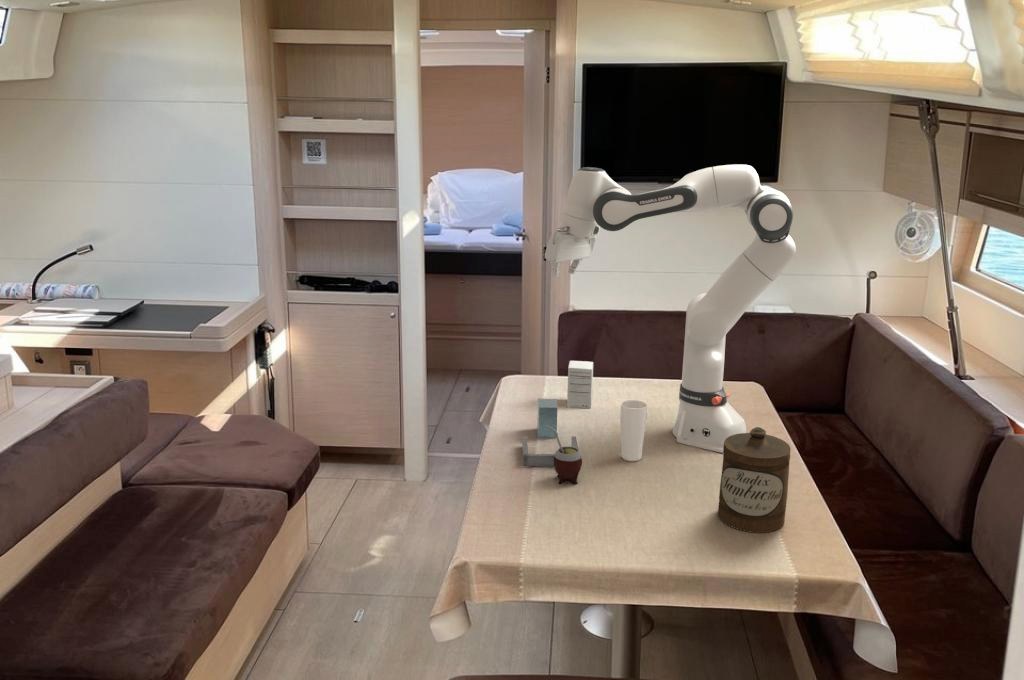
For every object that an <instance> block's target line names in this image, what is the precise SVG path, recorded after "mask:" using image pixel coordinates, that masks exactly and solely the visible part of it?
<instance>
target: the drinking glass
mask: <svg viewBox="0 0 1024 680" xmlns="http://www.w3.org/2000/svg"><path fill="white" fill-rule="evenodd" d="M619 416H620V418H619V419H620V443H621V445H620V447H621V448H620V449H621V450H620V451H621V452H620V455H621V458H622V459H623V460H624V461H627V462H638V461H640V460H641V458H642V456H643V446H644V438H645V434H646V426H647V418H648V417H647V416H648V404H647V403H646V402H644V401H641V400H636V399H635V400H633V399H629V400H624V401H622V402H621V404H620V415H619Z"/></svg>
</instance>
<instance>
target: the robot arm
mask: <svg viewBox="0 0 1024 680" xmlns="http://www.w3.org/2000/svg"><path fill="white" fill-rule="evenodd" d="M726 208H740V209H743V210H744V212H745V214H746V217H747V220H748V222H749V224H750V225H751V226H752V228H753V230H754V231H755V233H756V235H755V237H754V239H753V241H752V242H751V244H749V246H747V248H746V249H744V250H743V251H742V252H741V253H740V254H739V255H738V256H737V257H736V259H735V260H734V261H733V262H732V263H730V264H729V266H728V267H727V268H726V269H725V270H724V271H723V272H722V273H721V274H720V276H719V277H718V278H717V280H716V281H715V282H714V283H713V285H712V286H711V287H710V288H709V290H708V291H707V292H703V293H699V294H698V295H696V296H694V297H693V298H692V299H691V300H690V302H688V305H687V307H686V313H685V314H686V316H685V329H684V330H685V331H684V332H685V333H684V345H683V360H682V373H681V375H682V376H681V383H680V385H679V391H678V392H679V394H678V398H679V399H678V400H679V404H678V405H679V406H678V411H677V416H676V420H675V423H674V425H673V428H672V434H673V435H674V437H676V442H677V443H679V444H683V445H687V446H691V447H695V448H699V449H705V450H709V451H713V452H717V453H721V454H723V448H724V441H725V439H726V438H728V437H729V436H732V435H735V434H740V433H747V424H746V421H745V419H744V418H743V417H742V416H741V415H740V414H739V413H738V412H737V411H736V410H735V409H734V408H733V407H732V406H731V405H730V403H729V402H728V398H729V397H731V395H730V394H731V392H727V393H726V392H725V390H724V386H723V383H724V381H723V380H724V370H725V369H724V368H725V355H726V354H725V352H726V337H727V336H726V335H727V334H728V333H729V332H730V330H731V329H733V327H734V326H735V325H736V324H737V322H738V321H739V320H740V319H741V317H742V316H743V315H744V314H745V313H746V311H747V310H748V309H749V307H750V305H752V304H753V303H754V302H755V300H757V298H759V296H760V295H761V294H762V293H763V292H764V291H765V290H766V289H767V288H768V287H769V286H770V285H771V284H772V283H773V282H775V280H776V279H777V278H778V277H779V276H780V275H781V274H782V273H783V271H784V270H785V269H786V268H787V266H788V265H789V264H790V262H791V261H792V259H793V257H794V256H795V255H796V252H797V246H796V243H795V240H793V238H792V236H791V235H790V230H791V228H792V227H791V226H792V223H793V220H794V219H793V218H794V209H793V206H792V203H791V202H790V199H789V198H788V197H787V195H786V194H785V193H783V192H782V191H780V190H779V189H777V188H775V187H773V186H770V185H766V184H764V183H761V182H760V177H759V174H758V173H757V171H756V169H755V168H754V167H753V166H752V165H748V164H725V165H716V166H710V167H705V168H701V169H698V170H696V171H692V172H689V173H687V174H685V175H684V176H683V177H682V178H681V179H679V180H678V181H676V182H675V183H674V184H672V185H670V186H667V187H665V188H662V189H656V190H651V191H646V192H642V193H635V194H633V193H631V192H630V191H629V190H628V189H626V188H625V187H623V186H622V185H620V184H618V183H617V182H616V181H614V180H613V179H612V178H611V177H610V176H609V174H608V173H607V172H606V170H604V168H601V167H599V168H598V167H592V166H586V167H581V168H579V169H577V170H575V172H574V174H573V176H572V179H571V182H570V185H569V189H568V192H567V195H566V205H565V207H564V208H563V210H562V213H561V214H562V215H561V218H560V220H559V221H560V222H559V226H558V228H557V230H556V231H554V232H553V233H552V234H551V235H550V238H549V240H548V243H547V246H546V249H545V251H544V259H545V260H547V261H549V262H550V266H551V272H550V276H551V277H553V278H556V277H557V278H558V277H559V276H560V273H561V270H560V266H561V263H563V262H568V261H572V262H571V264H570V266H568V270H567V273H568V274H571V275H574V274H576V273H577V270H578V268H579V267H580V265H581V263H582V260H584V259H589V258H590V257H591V255H592V254H593V252H594V249H595V245H596V241H597V235H599V234H600V231H601V229H603V230H605V231H607V232H619V231H621V230H623V229H624V228H626V227H628V226H629V225H630V224H632V223H634V222H635V221H638V220H641V219H647V218H651V217H656V216H662V215H666V214H672V213H685V212H687V213H688V212H690V213H691V212H710V211H717V210H721V209H726Z"/></svg>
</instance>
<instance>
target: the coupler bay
mask: <svg viewBox="0 0 1024 680" xmlns="http://www.w3.org/2000/svg"><path fill="white" fill-rule="evenodd" d="M570 442H571V443H570V447H574V448H576V449H578V450H579V451H580V449H579V445H578V440H577V436H571V439H570ZM528 445H529V444H528V436H527V435H522V436H521V453H522V463H523V467H524V466H543V467H545V468H547V467H548V468H549V467H551V468H553V467H554V461H553V460H554V454H555V453H529V447H528Z"/></svg>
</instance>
